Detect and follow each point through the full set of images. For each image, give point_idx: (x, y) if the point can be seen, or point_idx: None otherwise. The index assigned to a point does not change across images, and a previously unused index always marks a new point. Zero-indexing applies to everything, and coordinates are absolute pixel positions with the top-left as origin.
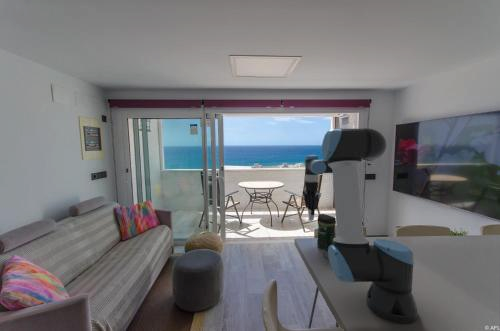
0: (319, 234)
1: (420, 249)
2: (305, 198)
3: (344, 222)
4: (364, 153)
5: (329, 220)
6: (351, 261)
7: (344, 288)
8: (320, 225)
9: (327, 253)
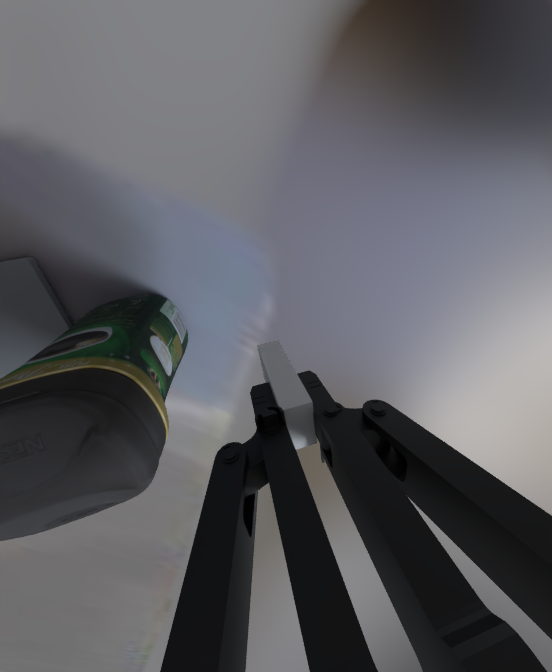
0: (114, 320)
1: (72, 583)
2: (521, 533)
3: None
4: None
5: None
6: None
7: None
8: (64, 356)
9: (36, 288)
